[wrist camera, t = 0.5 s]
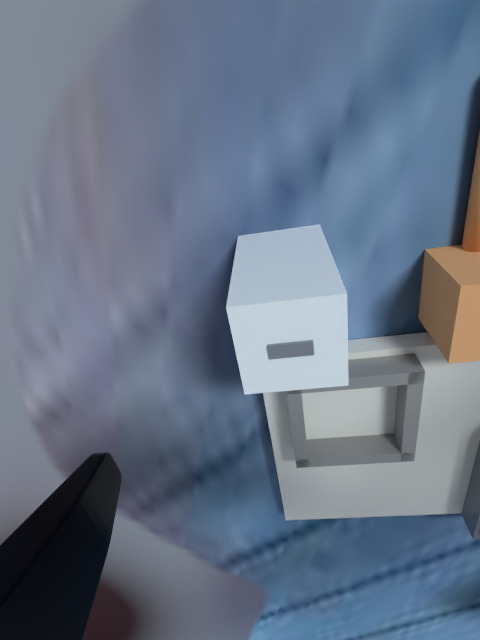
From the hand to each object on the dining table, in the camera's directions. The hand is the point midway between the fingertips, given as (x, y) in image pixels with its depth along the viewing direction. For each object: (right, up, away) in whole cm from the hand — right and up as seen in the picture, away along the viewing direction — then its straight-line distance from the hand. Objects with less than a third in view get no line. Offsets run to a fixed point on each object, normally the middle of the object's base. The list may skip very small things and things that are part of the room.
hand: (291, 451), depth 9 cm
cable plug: (+10, +8, +8) cm, 15 cm away
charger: (+1, +6, +11) cm, 12 cm away
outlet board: (+11, -4, +16) cm, 20 cm away
